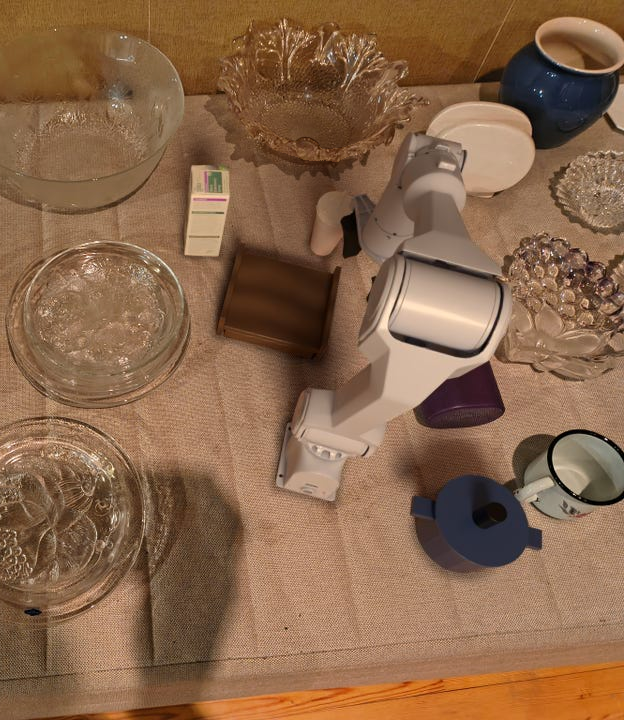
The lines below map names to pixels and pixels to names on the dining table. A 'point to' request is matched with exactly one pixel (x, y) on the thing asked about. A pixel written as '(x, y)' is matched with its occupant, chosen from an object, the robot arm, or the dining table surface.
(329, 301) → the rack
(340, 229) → the smoothie
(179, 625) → the dining table surface
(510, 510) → the lid
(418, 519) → the pot
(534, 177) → the dining table surface
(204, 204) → the syrup box
